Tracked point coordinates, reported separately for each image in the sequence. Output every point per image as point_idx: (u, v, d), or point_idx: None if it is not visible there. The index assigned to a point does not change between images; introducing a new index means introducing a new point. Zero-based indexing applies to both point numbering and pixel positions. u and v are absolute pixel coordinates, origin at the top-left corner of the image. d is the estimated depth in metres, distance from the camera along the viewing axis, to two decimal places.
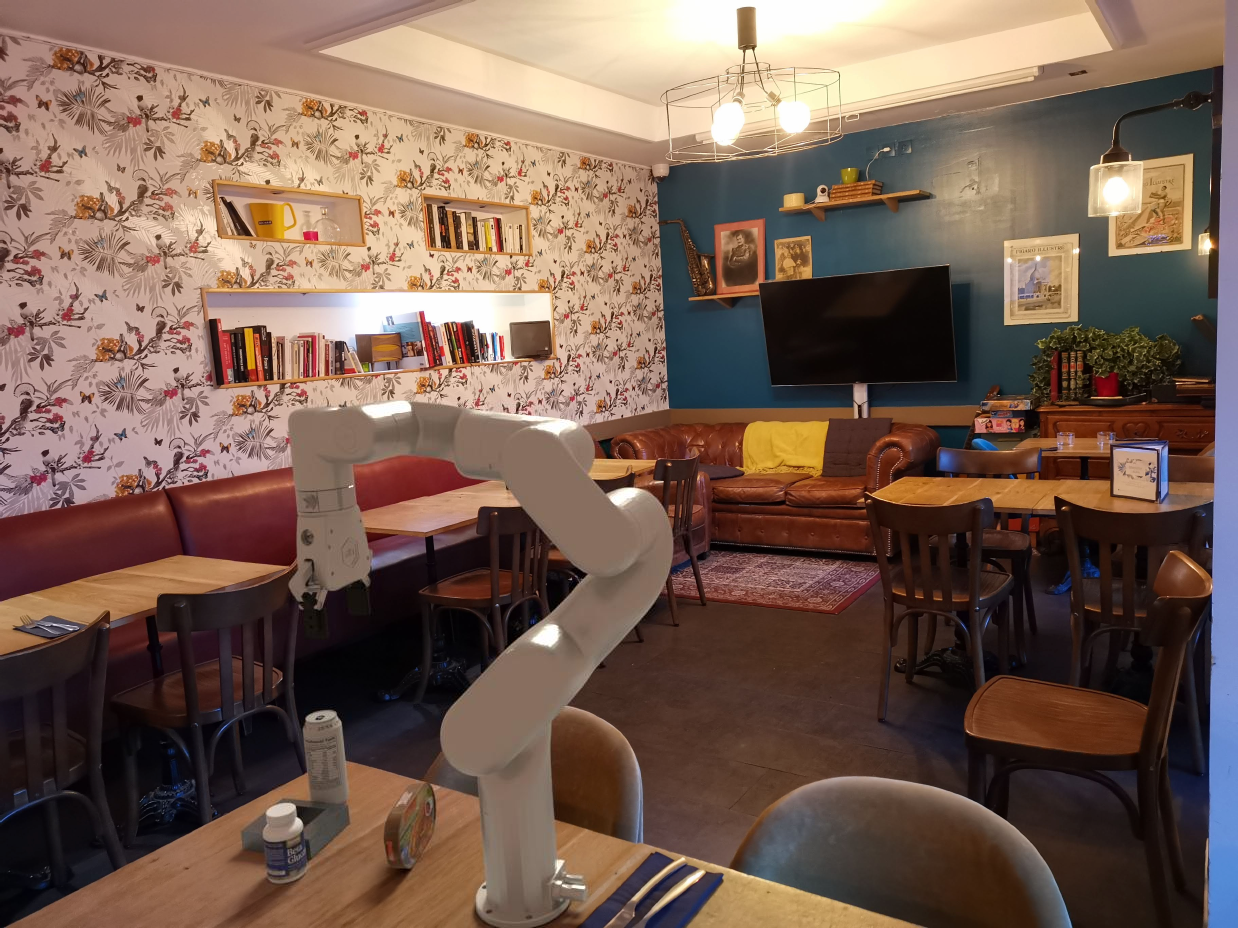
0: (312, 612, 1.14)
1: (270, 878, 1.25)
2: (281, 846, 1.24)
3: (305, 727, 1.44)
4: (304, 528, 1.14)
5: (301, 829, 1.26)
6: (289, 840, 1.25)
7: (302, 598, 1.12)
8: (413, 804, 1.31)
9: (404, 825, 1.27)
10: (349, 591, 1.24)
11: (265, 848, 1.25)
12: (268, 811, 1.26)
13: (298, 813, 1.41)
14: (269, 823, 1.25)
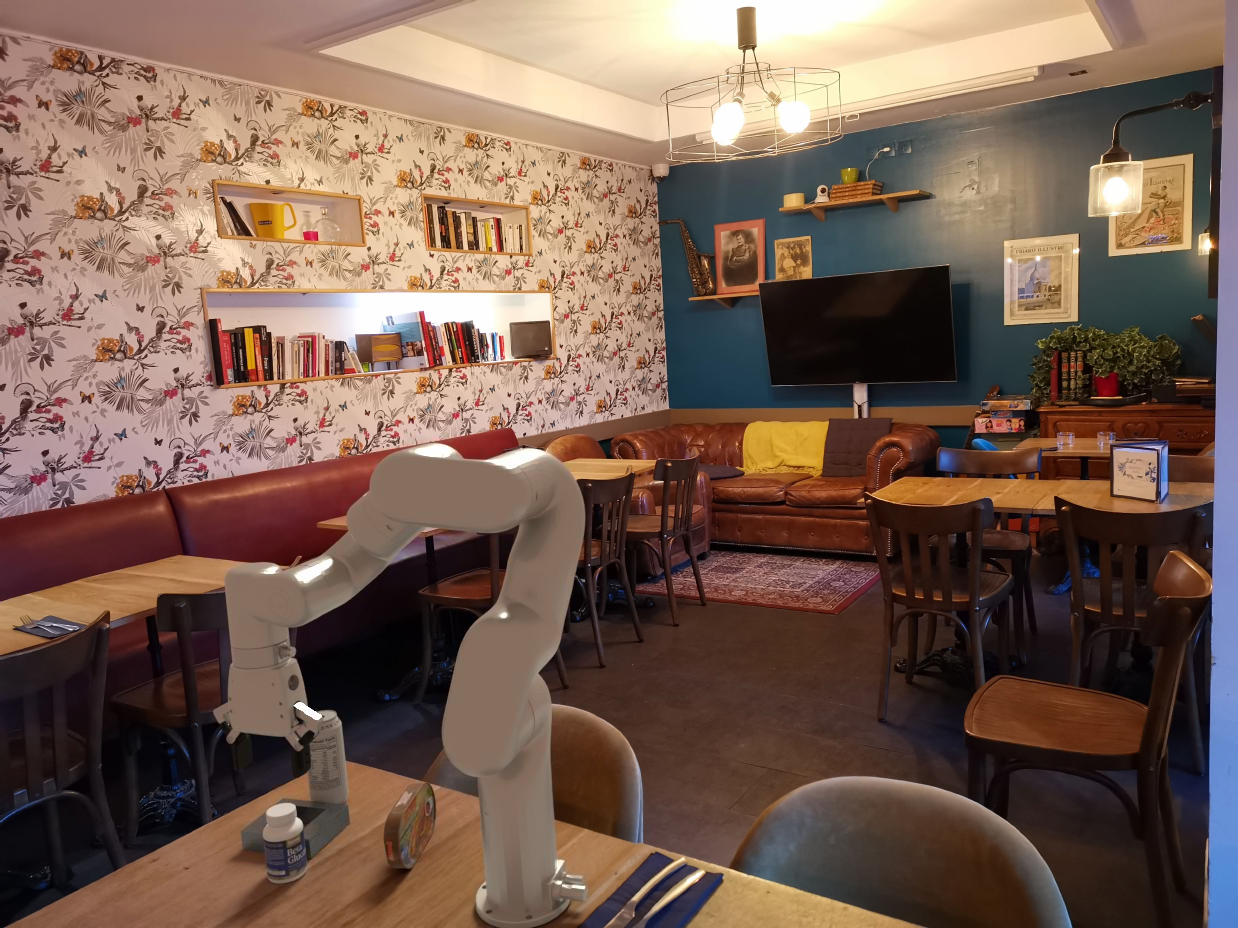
0: (307, 748, 1.24)
1: (270, 878, 1.25)
2: (281, 846, 1.24)
3: (305, 727, 1.44)
4: (289, 675, 1.22)
5: (301, 829, 1.26)
6: (289, 840, 1.25)
7: (317, 732, 1.23)
8: (413, 804, 1.31)
9: (404, 825, 1.27)
10: (239, 746, 1.25)
11: (265, 848, 1.25)
12: (268, 811, 1.26)
13: (298, 813, 1.41)
14: (269, 823, 1.25)
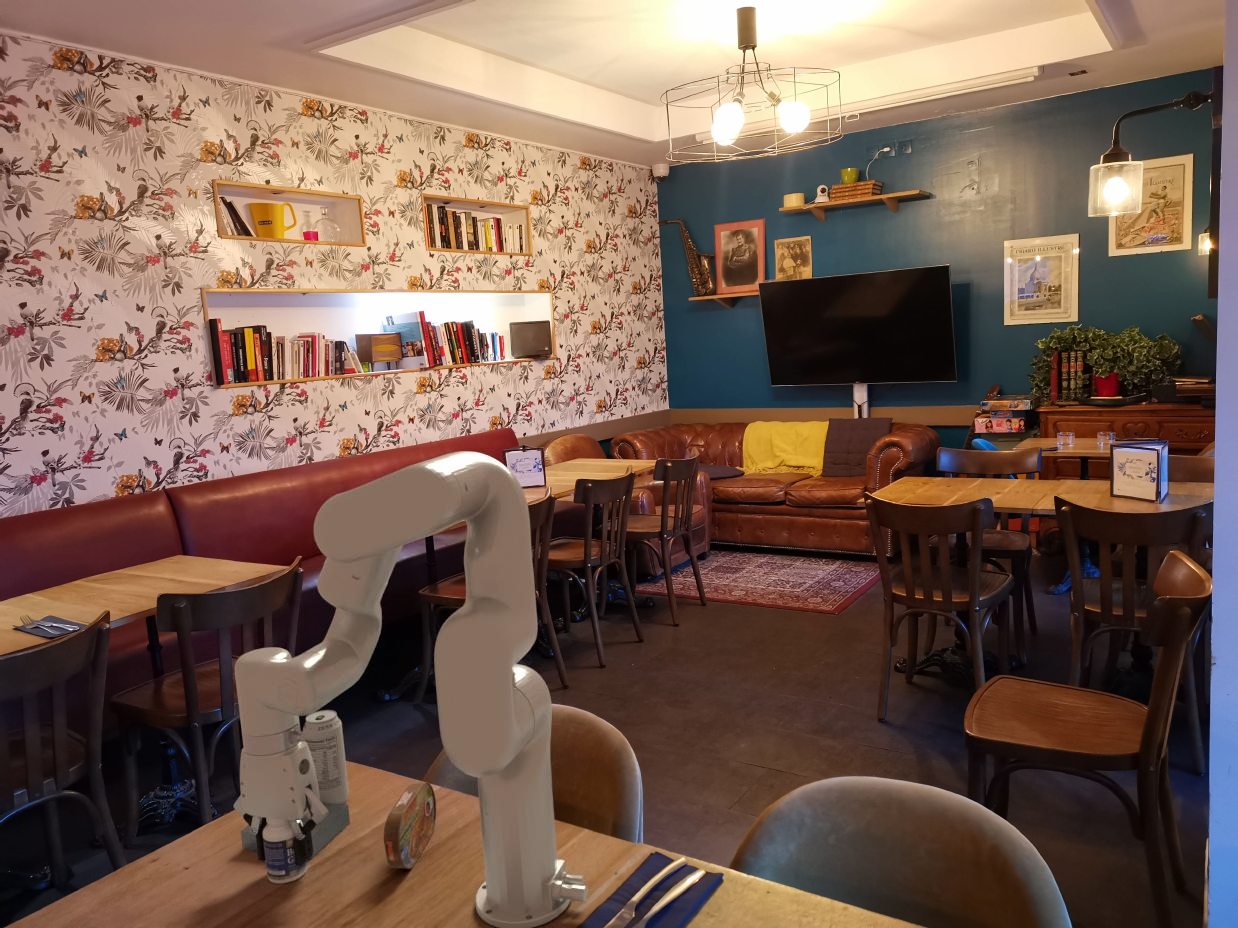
0: (309, 836, 1.26)
1: (270, 878, 1.25)
2: (281, 846, 1.24)
3: (305, 727, 1.44)
4: (300, 760, 1.23)
5: None
6: (289, 840, 1.25)
7: None
8: (413, 804, 1.31)
9: (404, 825, 1.27)
10: None
11: (265, 848, 1.25)
12: None
13: None
14: (269, 823, 1.25)
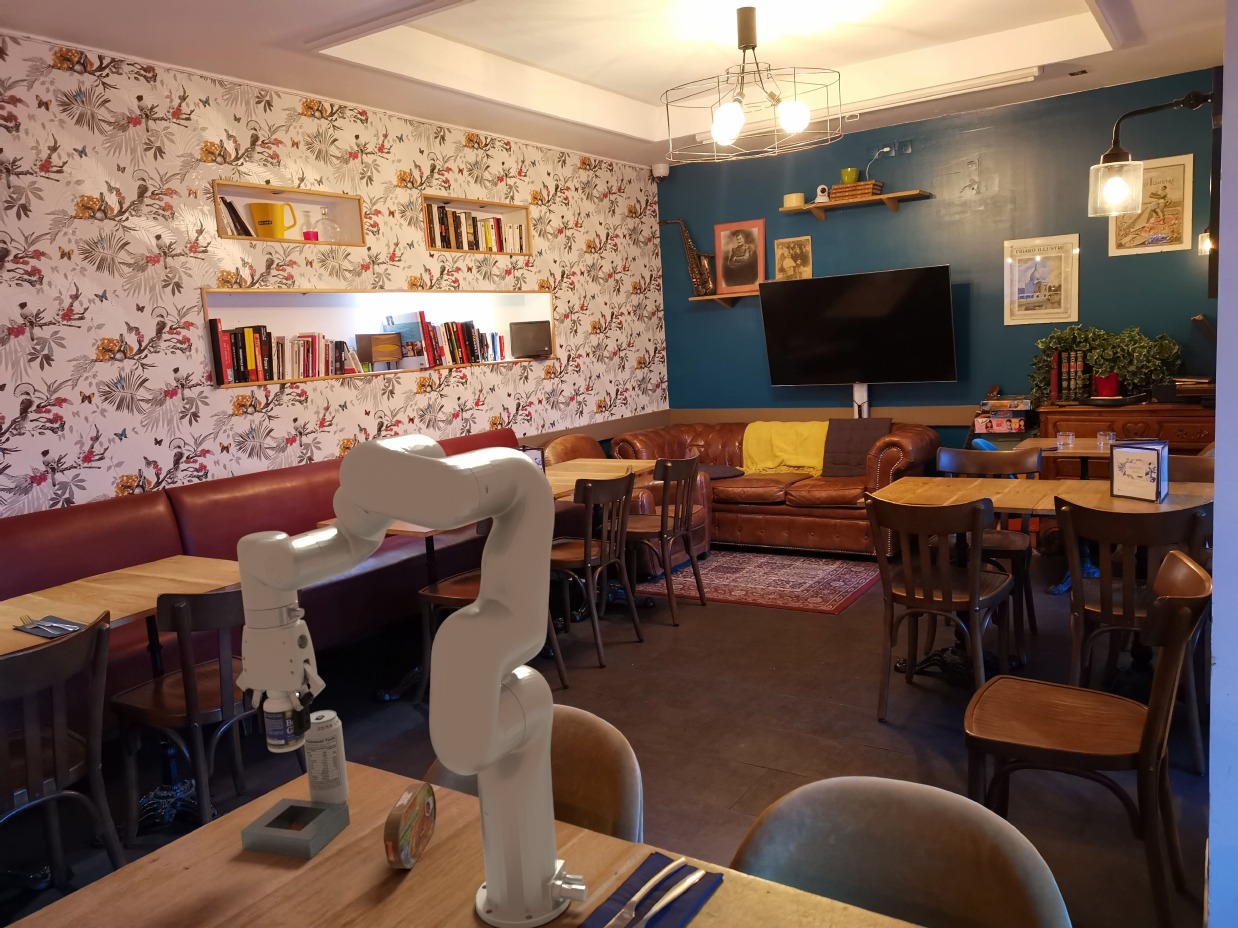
0: (307, 708, 1.34)
1: (270, 748, 1.33)
2: (280, 716, 1.32)
3: None
4: (299, 634, 1.31)
5: None
6: (288, 711, 1.32)
7: (315, 694, 1.33)
8: (413, 804, 1.31)
9: (404, 825, 1.27)
10: (263, 710, 1.34)
11: (265, 719, 1.33)
12: None
13: (298, 813, 1.41)
14: (269, 695, 1.33)
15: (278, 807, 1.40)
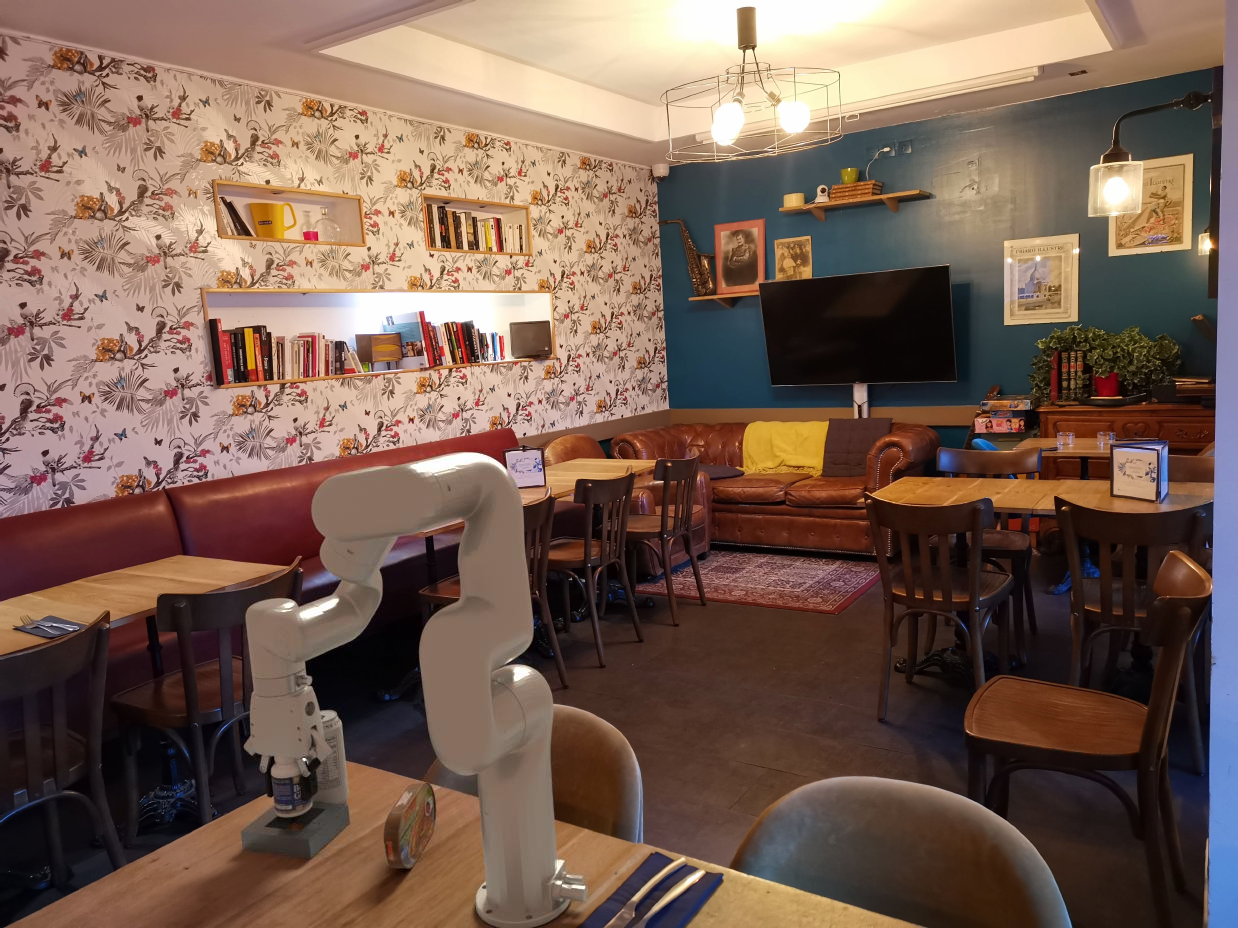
0: (314, 773, 1.35)
1: (278, 812, 1.35)
2: (288, 782, 1.33)
3: None
4: (306, 702, 1.33)
5: None
6: (296, 777, 1.34)
7: None
8: (413, 804, 1.31)
9: (404, 825, 1.27)
10: None
11: (273, 784, 1.34)
12: None
13: None
14: (277, 761, 1.34)
15: None
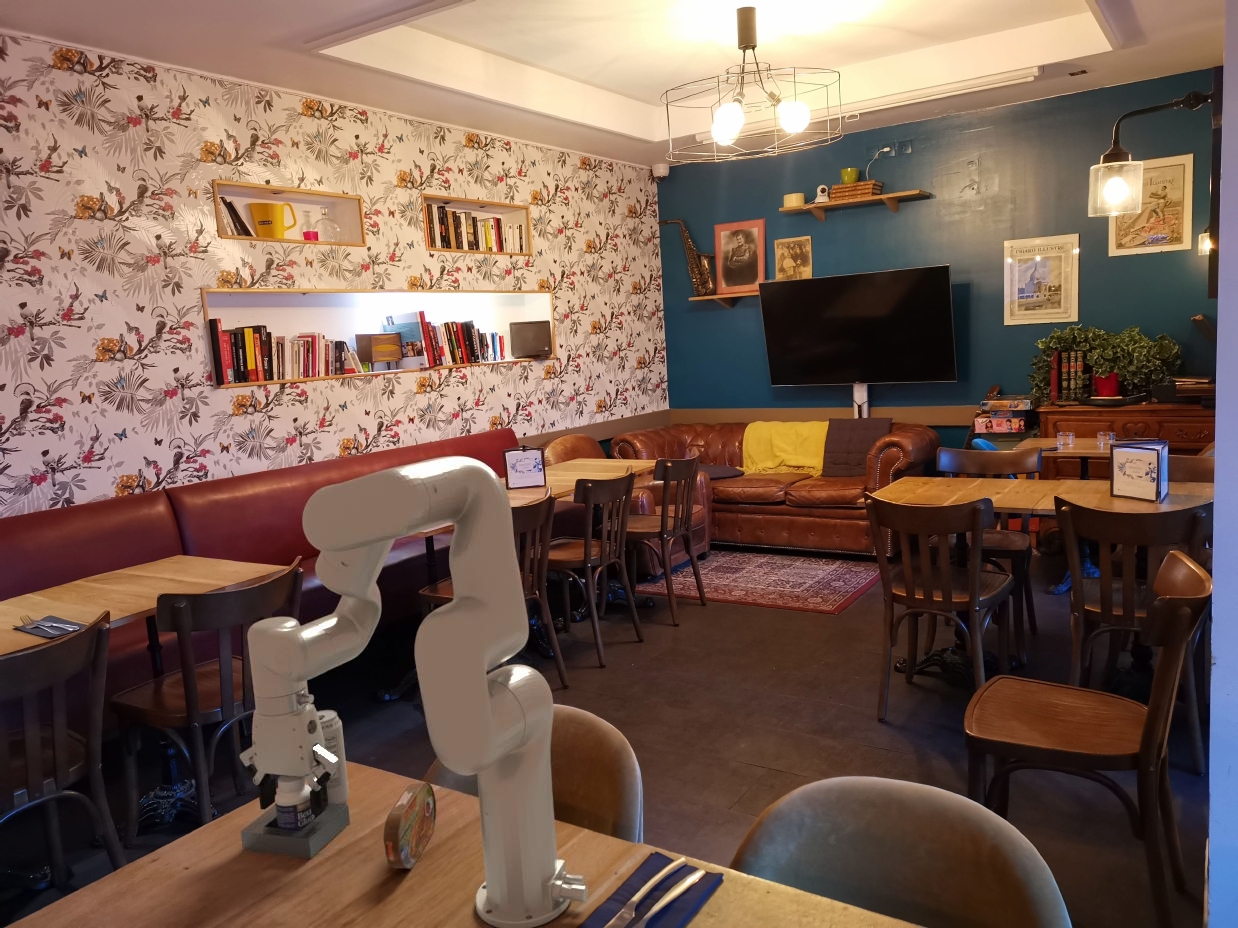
0: (324, 787, 1.35)
1: None
2: (292, 810, 1.34)
3: None
4: (308, 720, 1.33)
5: None
6: (300, 804, 1.34)
7: (333, 773, 1.34)
8: (413, 804, 1.31)
9: (404, 825, 1.27)
10: (264, 787, 1.37)
11: (277, 812, 1.35)
12: (280, 778, 1.36)
13: None
14: (281, 789, 1.35)
15: None
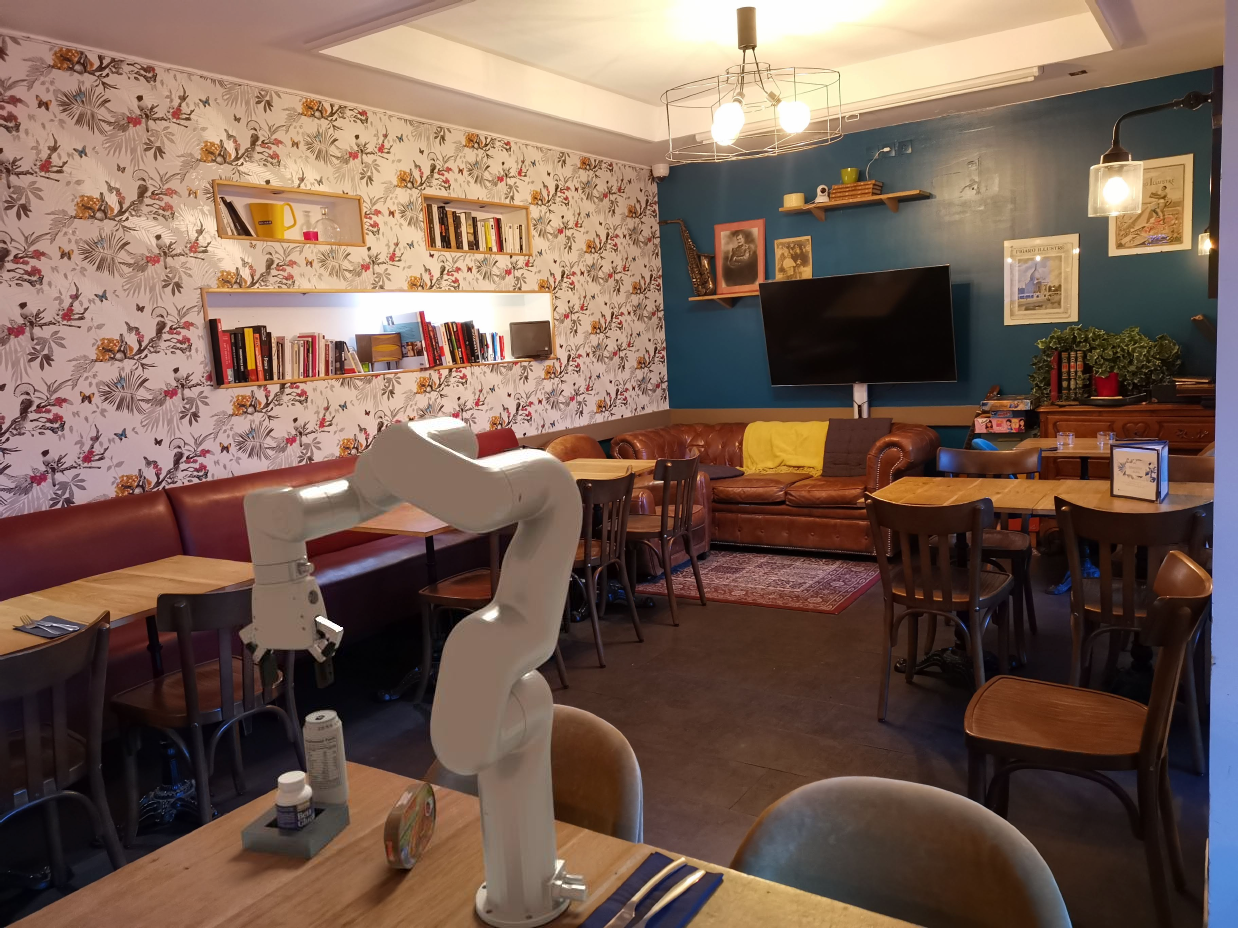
0: (329, 660, 1.30)
1: None
2: (292, 810, 1.34)
3: (305, 727, 1.44)
4: (309, 590, 1.29)
5: (310, 795, 1.36)
6: (300, 804, 1.34)
7: (338, 643, 1.29)
8: (413, 804, 1.31)
9: (404, 825, 1.27)
10: (265, 664, 1.32)
11: (277, 812, 1.35)
12: (280, 778, 1.36)
13: None
14: (281, 789, 1.35)
15: None
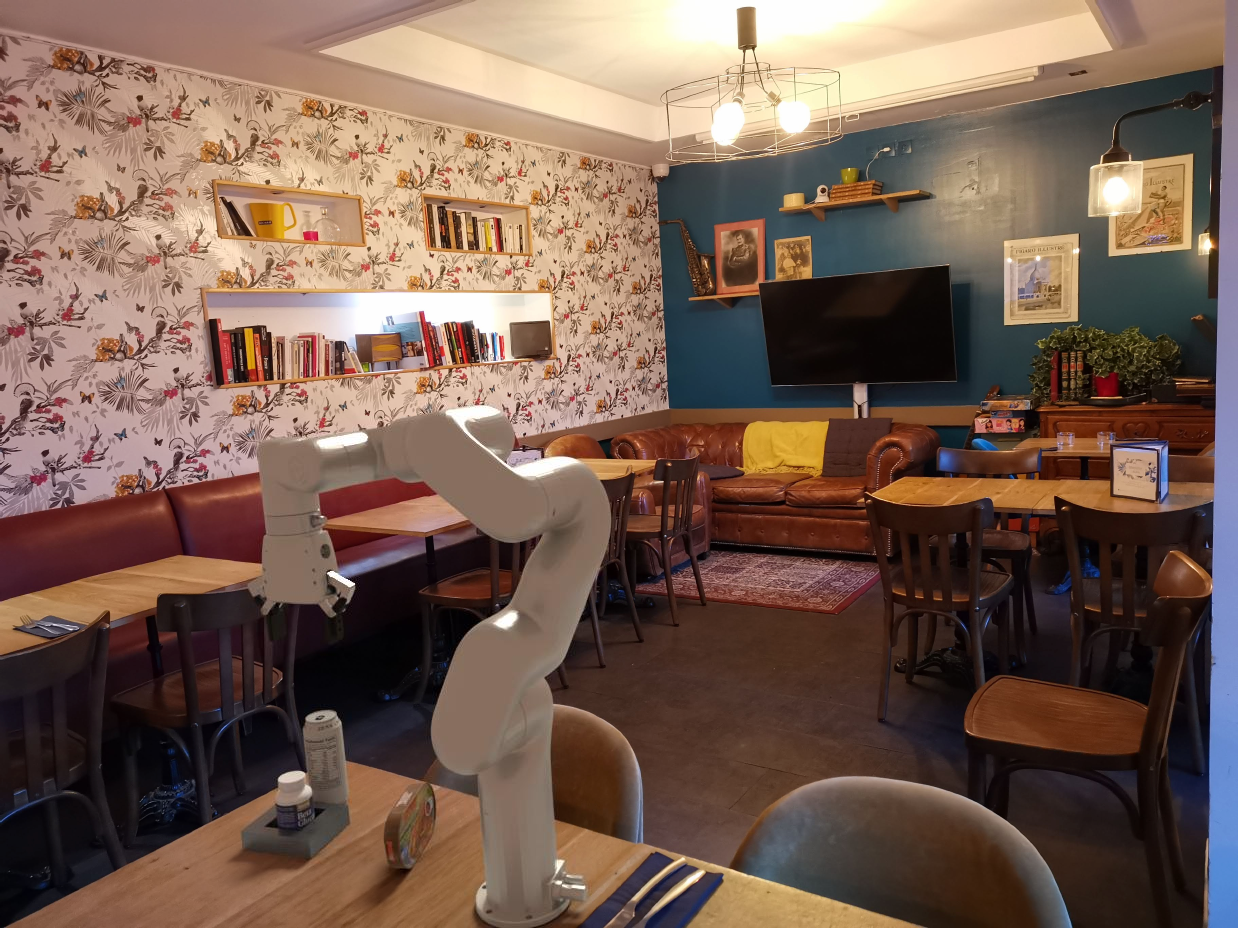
0: (340, 616, 1.27)
1: None
2: (292, 810, 1.34)
3: (305, 727, 1.44)
4: (321, 543, 1.26)
5: (310, 795, 1.36)
6: (300, 804, 1.34)
7: (349, 599, 1.27)
8: (413, 804, 1.31)
9: (404, 825, 1.27)
10: (273, 618, 1.29)
11: (277, 812, 1.35)
12: (280, 778, 1.36)
13: None
14: (281, 789, 1.35)
15: None
